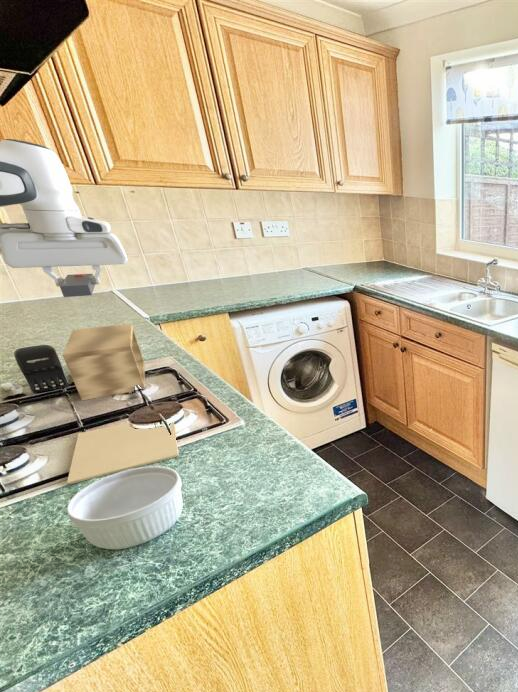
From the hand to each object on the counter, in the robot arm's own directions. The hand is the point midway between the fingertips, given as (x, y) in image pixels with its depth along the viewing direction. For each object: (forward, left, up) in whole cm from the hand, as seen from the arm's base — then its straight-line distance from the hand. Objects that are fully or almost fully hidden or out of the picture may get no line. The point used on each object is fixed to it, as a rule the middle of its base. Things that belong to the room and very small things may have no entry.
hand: (79, 285), depth 100 cm
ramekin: (+5, -66, -26) cm, 72 cm away
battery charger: (-12, +3, -26) cm, 29 cm away
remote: (0, 0, -1) cm, 1 cm away
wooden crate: (0, +3, -26) cm, 26 cm away
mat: (+3, -37, -26) cm, 46 cm away
